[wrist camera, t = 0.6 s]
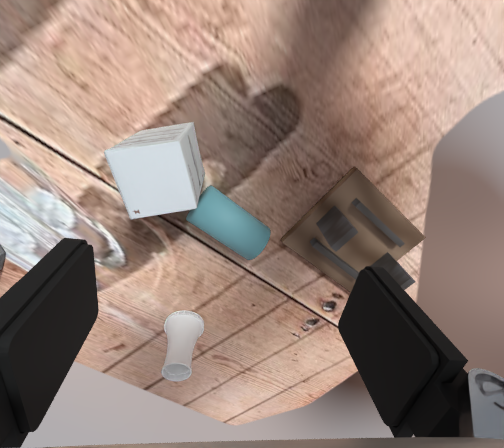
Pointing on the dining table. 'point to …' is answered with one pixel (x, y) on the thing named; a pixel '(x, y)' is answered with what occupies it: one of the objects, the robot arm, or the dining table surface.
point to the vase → (181, 343)
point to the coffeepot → (2, 257)
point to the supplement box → (158, 170)
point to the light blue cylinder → (229, 224)
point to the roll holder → (354, 233)
